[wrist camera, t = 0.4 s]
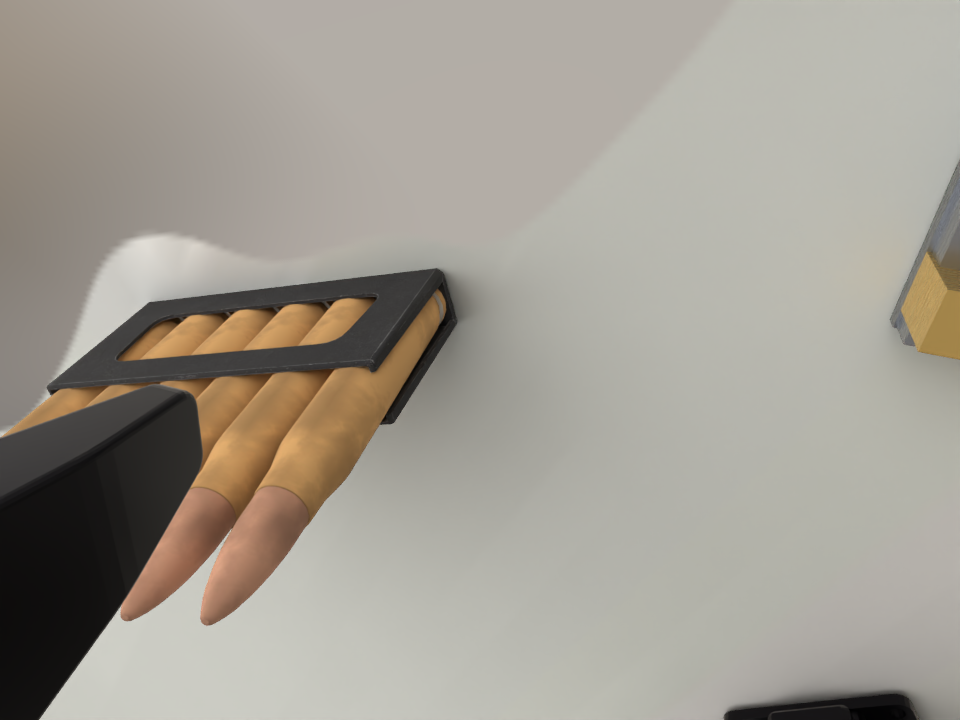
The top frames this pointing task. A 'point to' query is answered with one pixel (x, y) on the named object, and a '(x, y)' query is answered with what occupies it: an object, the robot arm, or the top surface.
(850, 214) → the top surface
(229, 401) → the ammunition clip
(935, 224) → the track
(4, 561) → the robot arm
